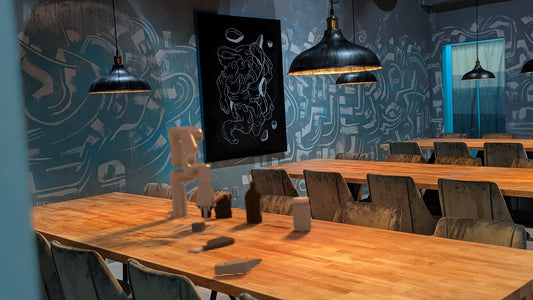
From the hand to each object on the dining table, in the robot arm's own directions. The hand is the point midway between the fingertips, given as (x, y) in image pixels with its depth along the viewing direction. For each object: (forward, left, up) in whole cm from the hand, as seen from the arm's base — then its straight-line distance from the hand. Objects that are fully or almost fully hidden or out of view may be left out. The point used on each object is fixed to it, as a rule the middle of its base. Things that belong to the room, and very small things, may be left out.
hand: (206, 217), depth 319 cm
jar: (+57, +3, -7) cm, 57 cm away
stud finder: (0, -10, -5) cm, 12 cm away
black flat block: (-3, +28, -7) cm, 29 cm away
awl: (0, 0, -1) cm, 1 cm away
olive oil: (+22, +20, -7) cm, 30 cm away
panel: (-7, -6, -7) cm, 11 cm away
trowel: (+51, -73, -7) cm, 90 cm away
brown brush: (+22, -40, -7) cm, 46 cm away
